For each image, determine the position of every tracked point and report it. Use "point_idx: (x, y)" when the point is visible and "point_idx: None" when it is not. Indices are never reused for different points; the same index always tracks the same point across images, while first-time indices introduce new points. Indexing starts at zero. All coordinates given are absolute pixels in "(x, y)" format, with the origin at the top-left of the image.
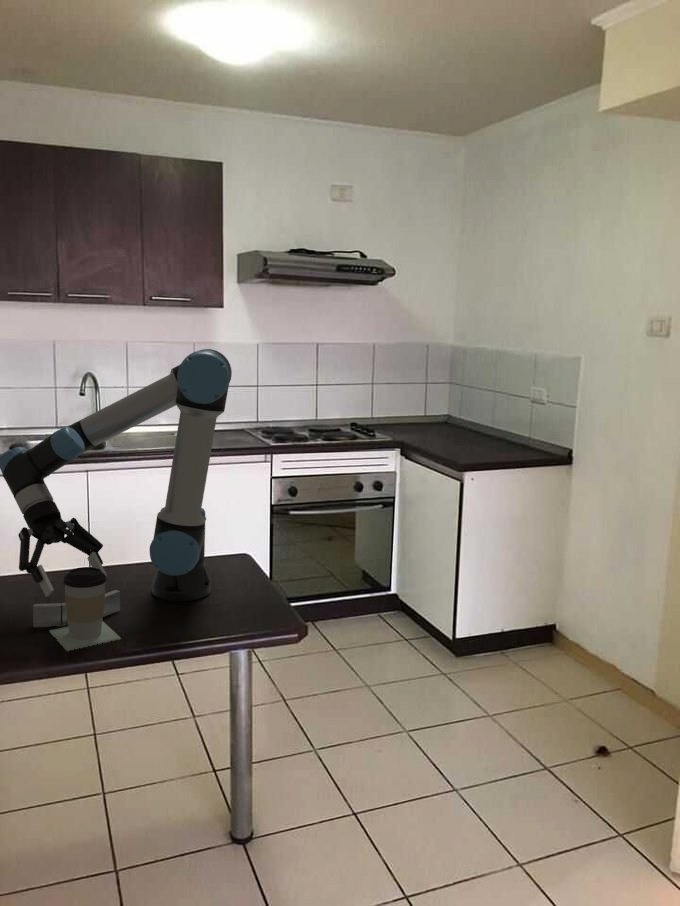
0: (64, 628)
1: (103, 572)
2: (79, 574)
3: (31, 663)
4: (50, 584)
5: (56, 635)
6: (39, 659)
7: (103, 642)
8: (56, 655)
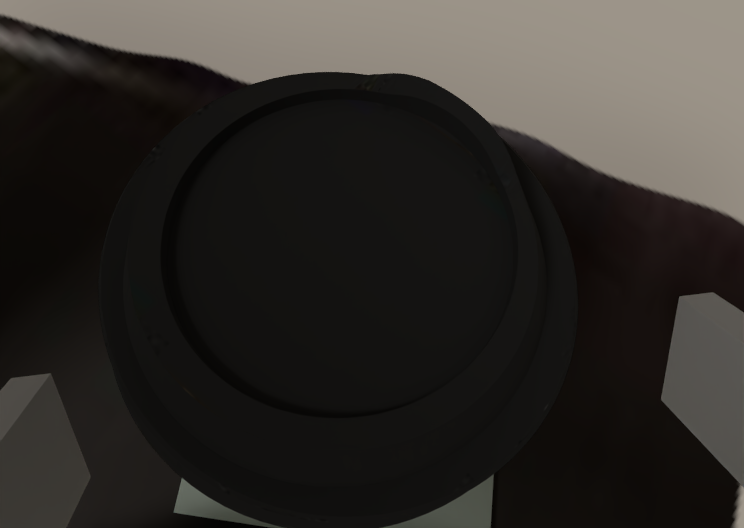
0: (406, 526)
1: (14, 403)
2: (417, 239)
3: (673, 250)
4: (735, 332)
5: None
6: (632, 265)
7: None
8: None
